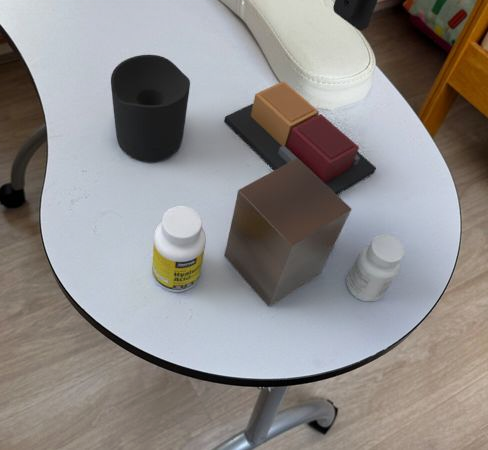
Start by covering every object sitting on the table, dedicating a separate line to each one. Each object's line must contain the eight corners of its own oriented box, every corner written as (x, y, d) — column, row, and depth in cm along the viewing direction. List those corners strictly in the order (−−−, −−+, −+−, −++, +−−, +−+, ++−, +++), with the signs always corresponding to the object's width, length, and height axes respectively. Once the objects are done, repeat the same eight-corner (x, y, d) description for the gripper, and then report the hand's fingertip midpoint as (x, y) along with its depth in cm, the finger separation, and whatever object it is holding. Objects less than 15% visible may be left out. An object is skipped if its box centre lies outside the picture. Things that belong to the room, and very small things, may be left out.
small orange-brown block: (311, 133, 79) (319, 110, 75) (284, 148, 77) (290, 125, 74) (278, 103, 82) (283, 79, 79) (250, 116, 80) (255, 92, 77)
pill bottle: (384, 273, 68) (408, 234, 61) (384, 306, 65) (410, 269, 59) (346, 265, 68) (366, 226, 62) (344, 298, 65) (366, 260, 59)
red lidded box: (350, 168, 75) (360, 146, 72) (322, 184, 74) (331, 162, 70) (313, 135, 79) (321, 112, 75) (285, 150, 77) (292, 127, 73)
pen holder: (188, 118, 80) (193, 59, 72) (181, 169, 75) (185, 111, 67) (120, 110, 80) (118, 50, 72) (108, 161, 75) (104, 102, 67)
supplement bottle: (172, 302, 63) (176, 253, 56) (142, 268, 66) (142, 215, 58) (210, 276, 66) (219, 225, 58) (180, 244, 68) (185, 191, 60)
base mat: (374, 173, 77) (379, 161, 75) (313, 209, 72) (317, 198, 71) (283, 93, 85) (287, 81, 83) (224, 121, 80) (226, 109, 79)
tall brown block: (321, 272, 67) (352, 208, 57) (268, 307, 64) (291, 246, 54) (276, 225, 71) (297, 157, 61) (223, 255, 67) (237, 189, 58)
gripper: (453, -230, 28) (349, 64, 41) (641, -271, 34) (497, -6, 48) (342, -277, 31) (279, 9, 45) (533, -307, 38) (427, -49, 51)
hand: (392, 1), depth 46 cm, fingers open, 9 cm apart
